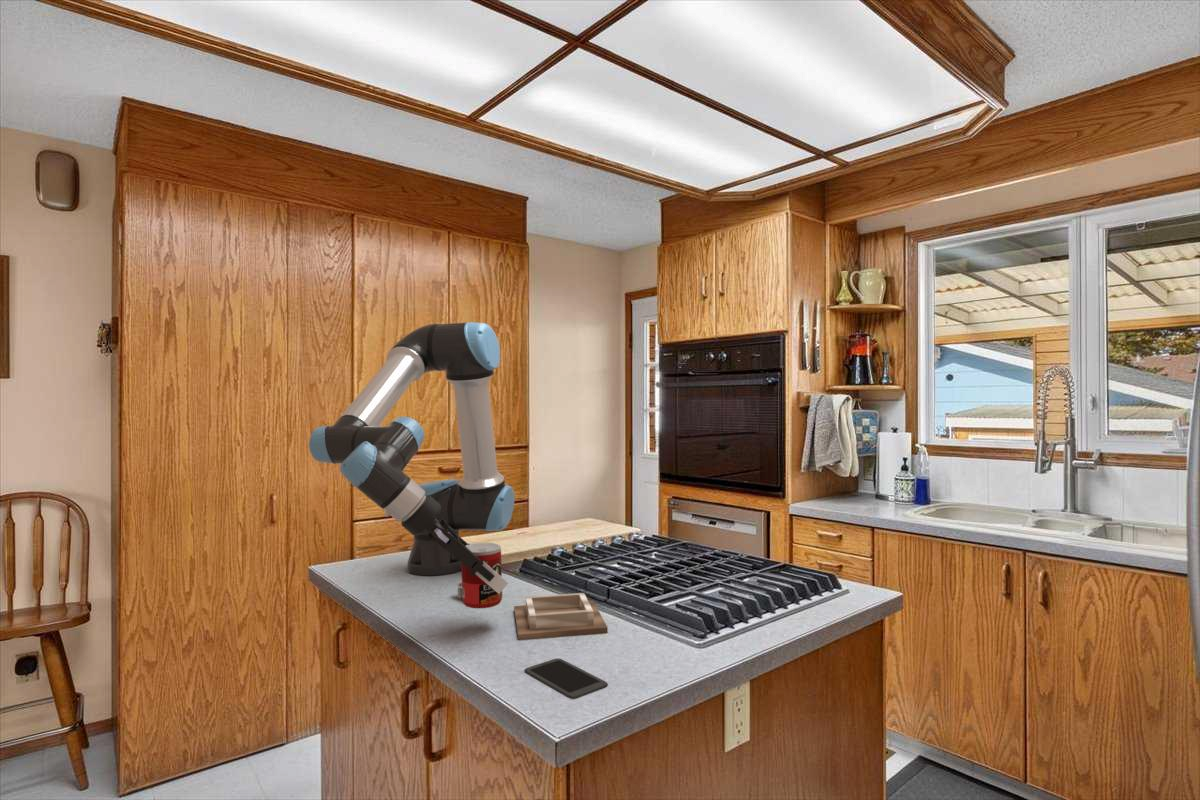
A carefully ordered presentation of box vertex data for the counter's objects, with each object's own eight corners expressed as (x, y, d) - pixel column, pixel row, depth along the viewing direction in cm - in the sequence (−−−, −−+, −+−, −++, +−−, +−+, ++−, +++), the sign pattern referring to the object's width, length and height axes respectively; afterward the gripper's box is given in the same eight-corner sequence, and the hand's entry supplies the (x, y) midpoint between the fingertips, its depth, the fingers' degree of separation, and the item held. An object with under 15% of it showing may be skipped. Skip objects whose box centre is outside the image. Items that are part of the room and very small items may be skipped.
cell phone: (572, 702, 100) (572, 697, 100) (522, 673, 111) (522, 668, 111) (609, 688, 105) (609, 683, 105) (558, 661, 116) (558, 656, 116)
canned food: (484, 611, 127) (483, 554, 127) (453, 604, 131) (452, 549, 131) (510, 600, 133) (509, 545, 133) (480, 593, 138) (479, 540, 137)
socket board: (514, 610, 142) (513, 594, 142) (593, 605, 145) (592, 589, 145) (518, 639, 125) (518, 621, 125) (607, 632, 128) (607, 614, 128)
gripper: (396, 513, 136) (477, 582, 142) (402, 534, 117) (496, 613, 123) (422, 485, 138) (501, 555, 144) (433, 502, 119) (523, 581, 124)
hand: (498, 581), depth 133 cm, fingers closed on canned food, 8 cm apart
